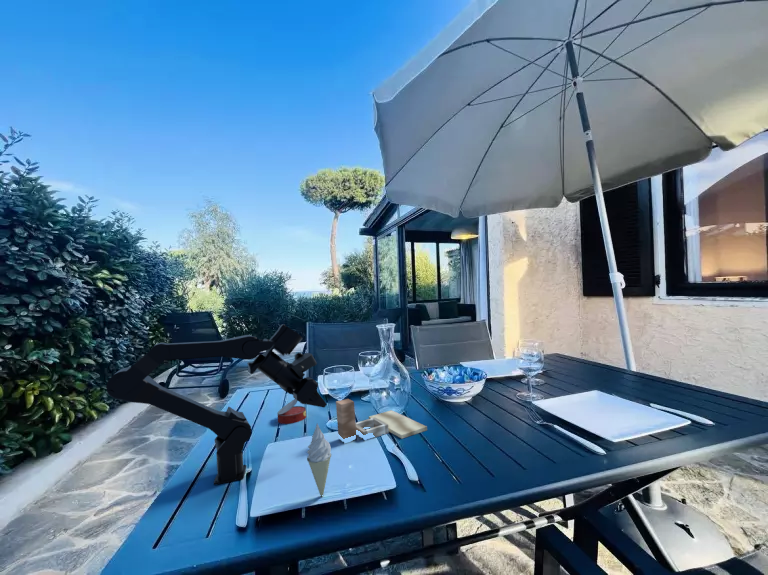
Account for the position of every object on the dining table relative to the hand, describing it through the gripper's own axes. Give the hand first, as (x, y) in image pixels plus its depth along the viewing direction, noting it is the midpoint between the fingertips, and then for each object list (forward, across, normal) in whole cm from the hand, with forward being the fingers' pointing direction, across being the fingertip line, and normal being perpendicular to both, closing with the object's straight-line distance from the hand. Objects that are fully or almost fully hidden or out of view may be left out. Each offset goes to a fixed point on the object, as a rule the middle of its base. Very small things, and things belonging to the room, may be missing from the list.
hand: (319, 402), depth 92 cm
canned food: (+9, +30, +9) cm, 33 cm away
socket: (+23, 0, -5) cm, 24 cm away
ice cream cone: (+3, -22, +15) cm, 27 cm away
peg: (+14, 0, +3) cm, 15 cm away
